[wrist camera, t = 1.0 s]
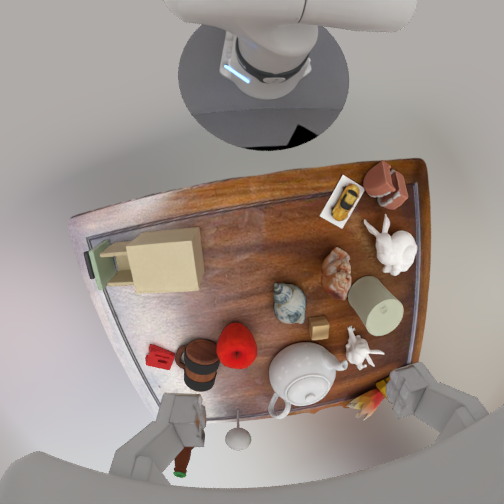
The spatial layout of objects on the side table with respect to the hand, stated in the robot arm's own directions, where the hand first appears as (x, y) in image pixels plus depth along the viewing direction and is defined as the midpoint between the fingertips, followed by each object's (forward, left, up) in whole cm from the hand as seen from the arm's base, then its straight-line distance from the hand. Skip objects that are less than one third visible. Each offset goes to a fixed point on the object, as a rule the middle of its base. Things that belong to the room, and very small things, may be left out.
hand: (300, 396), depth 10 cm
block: (+30, +14, -47) cm, 58 cm away
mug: (+31, -15, -44) cm, 56 cm away
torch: (+51, +47, -46) cm, 83 cm away
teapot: (+43, +10, -48) cm, 65 cm away
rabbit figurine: (+38, +26, -48) cm, 66 cm away
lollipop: (+61, -8, -48) cm, 78 cm away
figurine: (+13, +15, -48) cm, 52 cm away
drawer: (+9, -29, -47) cm, 56 cm away
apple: (+29, -6, -47) cm, 56 cm away
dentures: (-5, +24, -44) cm, 50 cm away
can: (+23, +26, -47) cm, 59 cm away
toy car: (+1, +19, -47) cm, 51 cm away
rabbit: (+15, +31, -43) cm, 55 cm away
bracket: (+37, -26, -44) cm, 63 cm away
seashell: (+22, +7, -48) cm, 53 cm away
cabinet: (+9, -17, -47) cm, 51 cm away
